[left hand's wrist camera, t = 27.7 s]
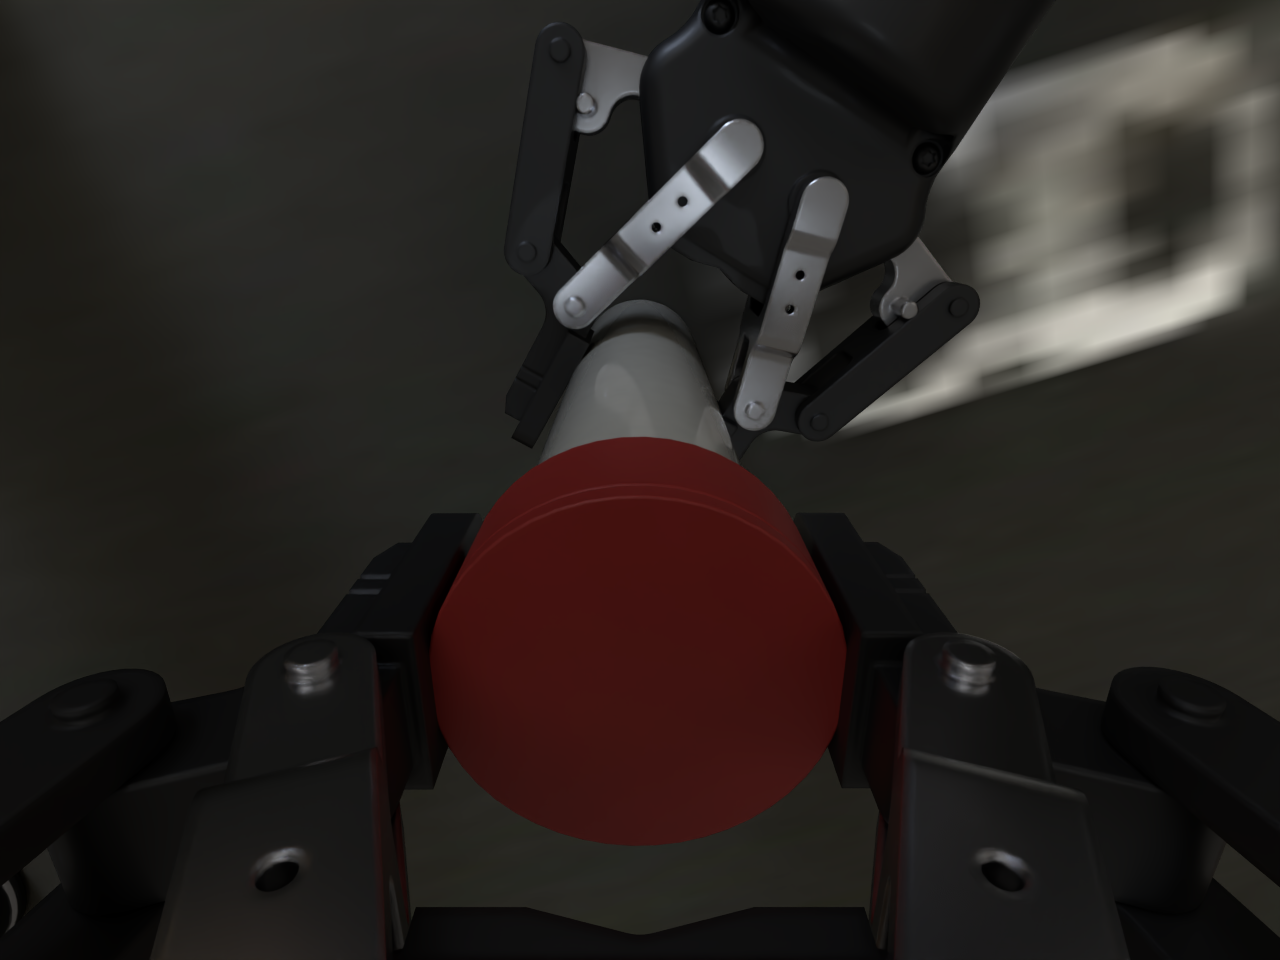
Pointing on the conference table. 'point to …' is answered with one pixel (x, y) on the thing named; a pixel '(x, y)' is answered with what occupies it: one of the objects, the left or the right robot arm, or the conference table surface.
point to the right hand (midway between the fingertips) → (595, 470)
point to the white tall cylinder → (640, 385)
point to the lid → (638, 646)
